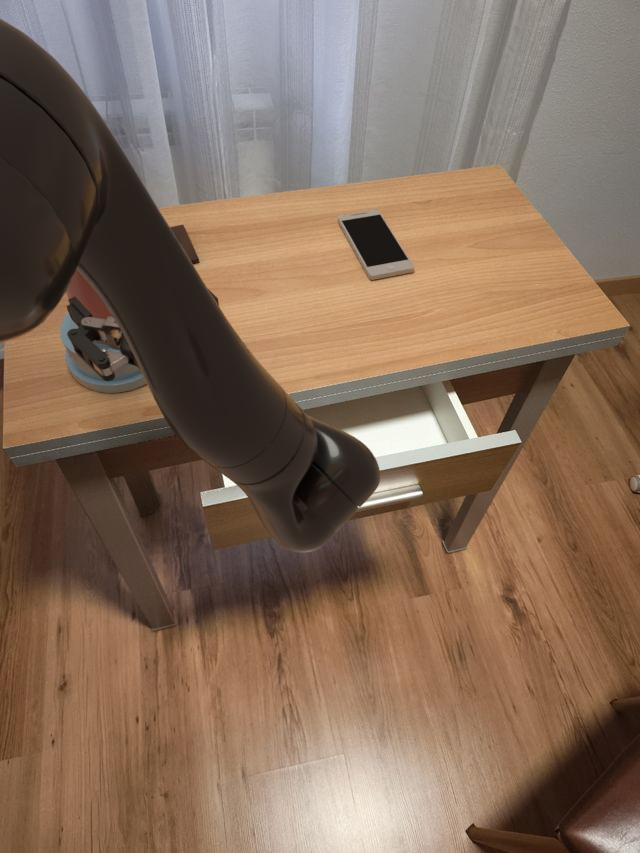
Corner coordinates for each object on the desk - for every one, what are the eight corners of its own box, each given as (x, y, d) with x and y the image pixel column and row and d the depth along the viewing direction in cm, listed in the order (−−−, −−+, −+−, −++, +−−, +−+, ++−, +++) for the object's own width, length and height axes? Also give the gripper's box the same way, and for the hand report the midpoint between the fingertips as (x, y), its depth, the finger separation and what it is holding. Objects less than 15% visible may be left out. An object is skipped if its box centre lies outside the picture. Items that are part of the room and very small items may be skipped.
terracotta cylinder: (84, 341, 66) (53, 272, 58) (75, 306, 69) (45, 236, 61) (139, 327, 68) (116, 258, 59) (128, 294, 71) (105, 224, 63)
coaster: (139, 276, 83) (138, 272, 82) (127, 240, 88) (125, 236, 87) (199, 262, 85) (198, 258, 84) (184, 228, 90) (183, 224, 89)
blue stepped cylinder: (77, 405, 69) (58, 369, 63) (62, 333, 76) (44, 295, 70) (182, 376, 72) (173, 339, 67) (158, 310, 79) (148, 271, 74)
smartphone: (369, 280, 84) (370, 275, 83) (336, 220, 92) (337, 215, 91) (414, 272, 85) (415, 267, 84) (377, 213, 94) (378, 208, 93)
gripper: (257, 310, 53) (160, 229, 60) (123, 387, 47) (33, 288, 54) (261, 364, 59) (173, 285, 66) (143, 438, 53) (60, 343, 60)
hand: (110, 286), depth 60 cm, fingers open, 8 cm apart
